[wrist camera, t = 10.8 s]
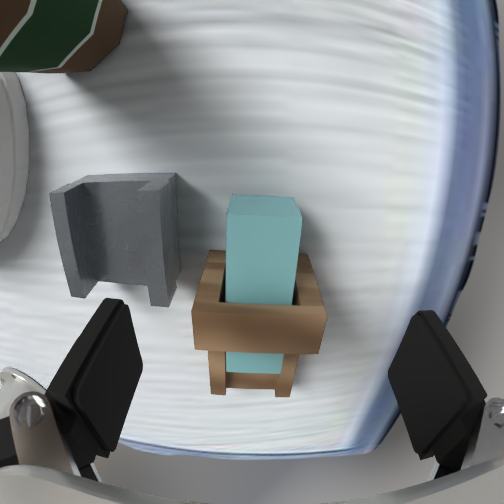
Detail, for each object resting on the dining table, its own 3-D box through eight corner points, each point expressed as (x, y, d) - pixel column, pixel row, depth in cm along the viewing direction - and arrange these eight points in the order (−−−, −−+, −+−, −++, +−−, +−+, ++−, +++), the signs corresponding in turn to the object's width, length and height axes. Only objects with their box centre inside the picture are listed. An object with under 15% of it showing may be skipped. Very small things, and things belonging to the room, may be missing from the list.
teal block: (277, 338, 25) (280, 373, 21) (229, 336, 25) (226, 371, 21) (293, 197, 19) (302, 218, 16) (232, 194, 19) (226, 214, 16)
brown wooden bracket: (287, 374, 30) (293, 437, 23) (214, 372, 30) (205, 434, 23) (307, 254, 23) (327, 316, 16) (209, 250, 23) (191, 311, 16)
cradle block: (183, 270, 24) (168, 307, 20) (97, 265, 24) (71, 296, 20) (179, 172, 21) (158, 190, 16) (84, 175, 21) (49, 193, 16)
